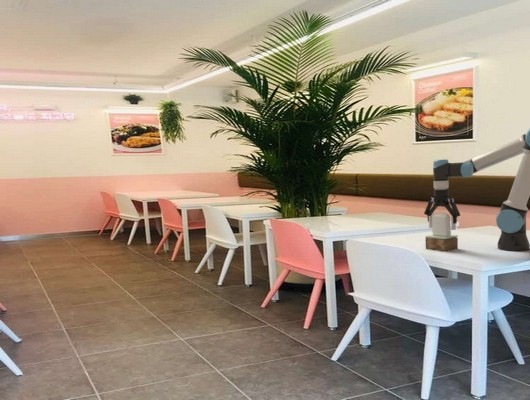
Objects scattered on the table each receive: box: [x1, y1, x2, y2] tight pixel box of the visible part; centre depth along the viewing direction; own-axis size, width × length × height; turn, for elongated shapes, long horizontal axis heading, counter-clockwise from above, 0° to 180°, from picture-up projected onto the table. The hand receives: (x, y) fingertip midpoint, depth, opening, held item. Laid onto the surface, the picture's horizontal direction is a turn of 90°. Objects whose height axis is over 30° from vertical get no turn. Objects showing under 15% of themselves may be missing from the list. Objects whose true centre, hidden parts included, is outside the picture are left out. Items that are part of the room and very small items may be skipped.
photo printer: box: [431, 212, 452, 236], centre depth 268 cm, size 10×4×12 cm, turn 29°
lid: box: [425, 234, 458, 239], centre depth 269 cm, size 12×11×1 cm
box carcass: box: [425, 237, 459, 252], centre depth 269 cm, size 12×11×6 cm
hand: (442, 228), depth 268 cm, fingers open, 13 cm apart
